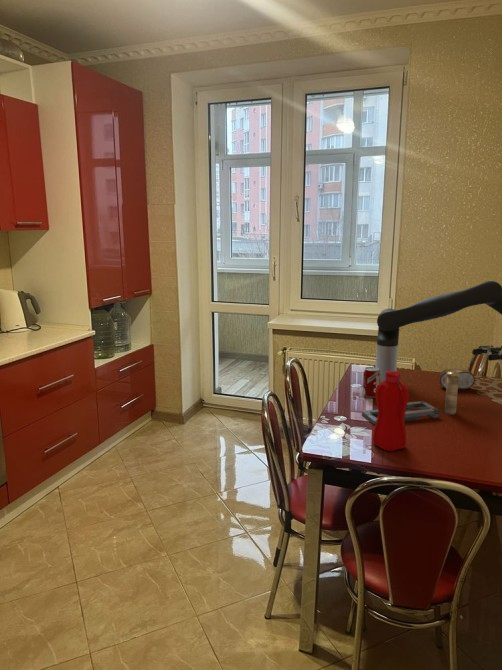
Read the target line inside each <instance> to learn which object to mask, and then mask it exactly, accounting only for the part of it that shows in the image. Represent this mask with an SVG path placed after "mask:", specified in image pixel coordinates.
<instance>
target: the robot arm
mask: <svg viewBox="0 0 502 670" xmlns="http://www.w3.org/2000/svg"><path fill="white" fill-rule="evenodd" d="M478 305H486V306H488V307H490V308H492V309H493V310H495V311H496V312H497V313H498V314H500V315H501V316H502V285H501V284H500V283H499V282H497V281H493V280H488V281H484V282H481V283H479V284H477V285H474V286H470V287H469V288H466V289H461V290H458V291H454V292H453V291H452V292H448V293H443V294H439V295H435V296H432V297H428V298H426V299H422V300H420V301H418V302H416V303H414V304H411V305H410V306H406V307H403V308H399V309H393V308H385V309H383V310H382V311H380V313H379V314H378V316H377V319H376V323H377V326H378V329H377V337H376V338H377V339H376V353H375V354H376V355H375V357H376V358H375V364H374V365H375V366H374V367H376V368H379V372H380V383H381V382H383V381H385V380H386V372H387V371H397V369H398V368H397V367H398V353H399V352H398V348H399V347H398V346H399V337H400V328H401V327H405V326H407V325H410V324H415V323H422V322H427V321H430V320H436V319H439V318H443V317H447V316H450V315H453V314H454V313H457V312H459V311H461V310H462V311H463V309H467V308H469V307H473V306H478ZM471 353H472V355H473V356H477V355H486V356H487V361H489V362H490V361H491V362H492V361H502V345H501V346H494V345H479V346H478V348H473V349H472V352H471ZM397 372H398V371H397Z"/></svg>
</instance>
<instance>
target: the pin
mask: <svg viewBox="0 0 502 670" xmlns="http://www.w3.org/2000/svg"><path fill="white" fill-rule="evenodd" d="M446 375H447V386H446V388H445V389H446V390H445V403H444V413H445V415H449V416H454V415H456V414H457V404H458V394H459V393H458V391H459V389H458V382H459V377H460V372H457V371H447V372H446Z"/></svg>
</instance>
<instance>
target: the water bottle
mask: <svg viewBox="0 0 502 670" xmlns="http://www.w3.org/2000/svg"><path fill="white" fill-rule="evenodd" d="M375 397H376V398H375V402H376V407H377V409H378V415H377V417H376V418H377V421H376V425H374V428H373V432H372V433H373V434H372V435H373V436H372V441H373V442H372V443H374V444H375V446H377V447H379V448H380V449H382V450H383V449H384V451H385V450H387V451H386V452H394V451H398V450H401V449H402V450H403V449H404V448H405V447H406V445H407V430H406V425H405V424H406V423H405V422H404V417H405V412H406V406H407V403H409V399H410V395H409V389H408V387H407V385H406V384H404V383H403V382H402V381H401V373H400V371H387V372H386V380H385V381H383V382H381V383H379V384H378V386H377V388H376V392H375ZM397 449H398V450H397Z"/></svg>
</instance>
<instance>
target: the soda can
mask: <svg viewBox="0 0 502 670" xmlns="http://www.w3.org/2000/svg"><path fill="white" fill-rule="evenodd" d="M362 379H363V380H362V381H363V384H362V395H363V396H364V397H366V398H368V399H376V397H375V392H376V388H377V386H378V384H379V383H380V372H379V368H376V367H375V366H367V367H365V370H364V371H363V378H362Z"/></svg>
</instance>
